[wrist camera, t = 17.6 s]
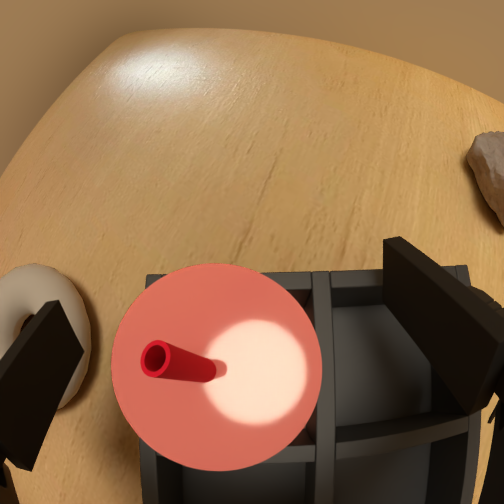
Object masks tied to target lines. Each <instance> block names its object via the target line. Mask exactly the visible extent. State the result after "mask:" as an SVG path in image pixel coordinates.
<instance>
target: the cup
mask: <svg viewBox="0 0 504 504" xmlns="http://www.w3.org/2000/svg"><path fill="white" fill-rule="evenodd" d="M111 374H112V382H113V387H114V391H115V395H116V398H117V401H118V404H119V406H120V408H121V410H122V412H123V414H124V416H125V418H126V420H127V421H128V423H129V424H130V426H131V427H132V428H133V430H134V431H135V432H136V433H137V435H138V436H139V437H140V438H141V439H142V440H143V441H144V442H145V443H146V444H148V445H149V446H150V447H151V448H152V449H154V450H155V451H156V452H158V453H159V454H161V455H163V456H164V457H166V458H168V459H170V460H172V461H174V462H176V463H179V464H181V465H184V466H187V467H191V468H195V469H200V470H207V471H230V470H237V469H242V468H246V467H250V466H253V465H255V464H258V463H260V462H263V461H265V460H267V459H269V458H271V457H272V456H274V455H275V454H277V453H278V452H280V451H281V450H283V449H284V448H285V447H286V446H287V445H289V444H290V443H291V442H292V441H293V440H294V439H295V438H296V437H297V435H298V434H299V433H300V432H301V431H302V429H303V428H304V426H305V425H306V423H307V422H308V420H309V418H310V416H311V414H312V412H313V410H314V408H315V405H316V403H317V400H318V396H319V392H320V388H321V381H322V357H321V351H320V346H319V342H318V338H317V335H316V333H315V330H314V328H313V325H312V323H311V321H310V319H309V318H308V316H307V314H306V313H305V311H304V310H303V308H302V307H301V306H300V304H299V303H298V302H297V301H296V300H295V298H294V297H293V296H292V295H291V294H290V293H289V292H288V291H286V290H285V289H284V288H283V287H282V286H280V285H279V284H278V283H276V282H275V281H273V280H272V279H270V278H268V277H266V276H265V275H263V274H260V273H258V272H256V271H253V270H251V269H248V268H244V267H241V266H236V265H231V264H220V263H209V264H199V265H194V266H189V267H186V268H182V269H179V270H177V271H174V272H172V273H170V274H168V275H166V276H164V277H162V278H160V279H159V280H157V281H156V282H154V283H153V284H152V285H150V286H149V287H148V288H147V289H145V290H144V291H143V292H142V293H141V294H140V295H139V296H138V297H137V298H136V300H135V301H134V302H133V303H132V305H131V306H130V307H129V309H128V310H127V312H126V314H125V315H124V317H123V319H122V321H121V323H120V325H119V328H118V330H117V333H116V336H115V340H114V344H113V349H112V357H111Z"/></svg>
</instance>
